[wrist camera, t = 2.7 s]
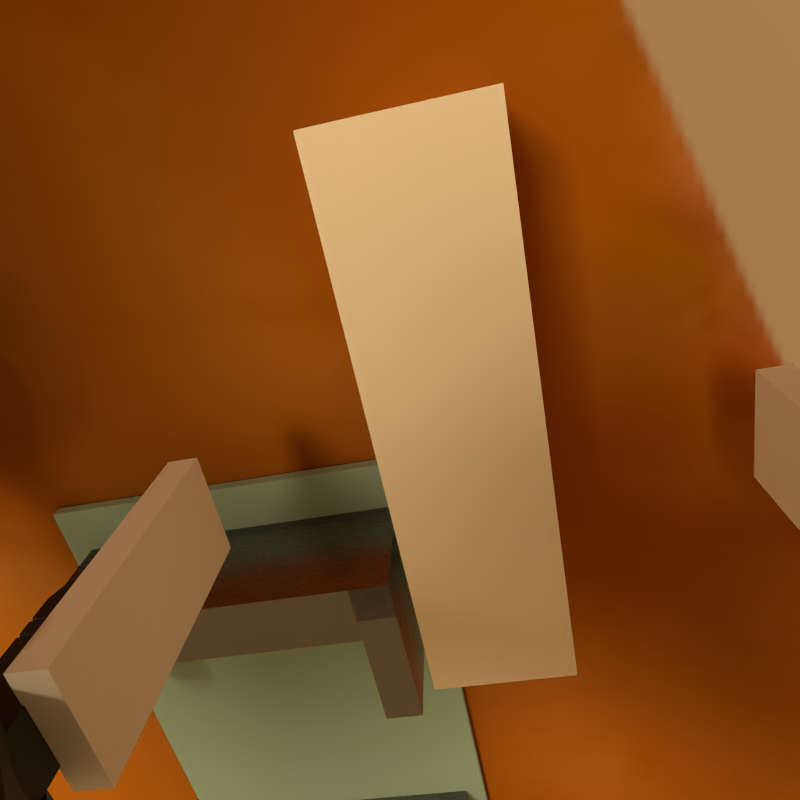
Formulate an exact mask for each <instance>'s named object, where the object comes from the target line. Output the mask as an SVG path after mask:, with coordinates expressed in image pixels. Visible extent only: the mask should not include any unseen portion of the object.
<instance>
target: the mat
mask: <svg viewBox="0 0 800 800" xmlns="http://www.w3.org/2000/svg"><path fill="white" fill-rule="evenodd" d="M208 488H209V491H210V493H211V496H212V499H213V501H214V504H215V507H216V509H217V512H218V515H219V517H220V520H221V523H222V525H223V528H224V531H225V530H232V529H239V528H246V527H253V526H260V525H267V524H274V523H281V522H288V521H294V520H301V519H308V518H315V517H322V516H329V515H336V514H343V513H350V512H357V511H364V510H371V509H378V508H385V507H388V503H387V499H386V495H385V492H384V488H383V484H382V480H381V476H380V472H379V468H378V464H377V460H376V459H375V460H369V461H362V462H356V463H349V464H343V465H336V466H330V467H323V468H317V469H310V470H304V471H297V472H291V473H284V474H278V475H271V476H265V477H259V478H252V479H246V480H239V481H233V482H226V483H220V484H213V485H208ZM140 498H141V496H136V497H129V498H123V499H116V500H110V501H103V502H97V503H90V504H84V505H77V506H71V507H64V508H58V509H57V511H56V512H55V513H54V514H53V517H54V519H55V521H56V523H57V525H58V527H59V528H60V530H61V532H62V534H63V536H64V538H65V540H66V542H67V544H68V546H69V548H70V550H71V552H72V554H73V556H74V558H75V560H76V562H77V563H78V565H79V566H80V565H81V563H82V562H83V561H84V559H85V558H86V557H87V555H88V554H89V553H90V552H91V550H94V549H101V548H102V546H103V545H104V544H105V543H106V541H107V540H108V539H109V537H110V536H111V535H112V534H113V532H114V531H115V530H116V528H117V527H118V526H119V525H120V523H121V522H122V521H123V520H124V518H125V517H126V516H127V514H128V513H129V512H130V511H131V509H132V508H133V507H134V505H135V504H136V503H137V502H138V500H139V499H140ZM153 711H154V713H155V715H156V717H157V719H158V721H159V723H160V725H161V727H162V729H163V731H164V733H165V735H166V737H167V739H168V740H169V742H170V744H171V746H172V748H173V750H174V752H175V754H176V756H177V758H178V760H179V762H180V764H181V766H182V768H183V770H184V772H185V774H186V775H187V777H188V779H189V781H190V783H191V785H192V787H193V789H194V791H195V793H196V795H197V797H198V799H199V800H362V799H373V798H385V797H397V796H409V795H421V794H432V793H444V792H456V791H466V792H467V796H468V800H488V797H487V793H486V788H485V784H484V780H483V775H482V771H481V767H480V762H479V758H478V753H477V749H476V745H475V740H474V736H473V732H472V727H471V723H470V718H469V714H468V710H467V705H466V701H465V697H464V692H463V688H462V687H458V688H448V689H438V690H435V689H434V685H433V681H432V677H431V673H430V669H429V665H428V661H427V657H426V653H425V649H424V690H423V715H420V716H410V717H400V718H391V719H387V718H386V715H385V712H384V709H383V705H382V702H381V699H380V695H379V692H378V689H377V686H376V682H375V679H374V676H373V672H372V669H371V666H370V663H369V659H368V656H367V653H366V649H365V646H364V643H363V641H357V642H348V643H340V644H331V645H323V646H314V647H306V648H297V649H289V650H280V651H272V652H263V653H255V654H246V655H238V656H229V657H221V658H212V659H204V660H195V661H187V662H178V663H175V664H174V666H173V668H172V670H171V672H170V674H169V676H168V678H167V681H166V683H165V685H164V687H163V689H162V691H161V693H160V695H159V697H158V699H157V701H156V703H155V705H154V707H153Z"/></svg>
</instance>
